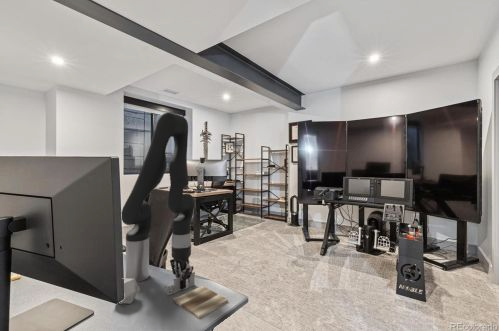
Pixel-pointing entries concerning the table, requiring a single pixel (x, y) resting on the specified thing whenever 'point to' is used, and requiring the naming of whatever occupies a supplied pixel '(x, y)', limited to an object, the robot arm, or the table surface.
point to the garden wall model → (177, 284)
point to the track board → (200, 301)
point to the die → (130, 290)
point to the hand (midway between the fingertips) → (181, 287)
